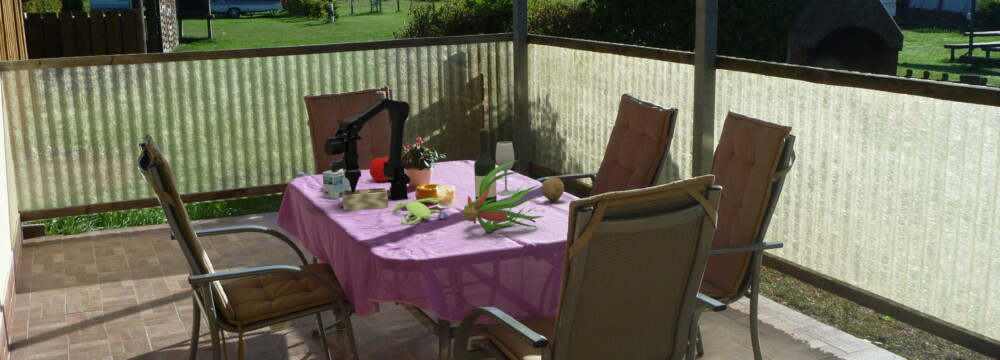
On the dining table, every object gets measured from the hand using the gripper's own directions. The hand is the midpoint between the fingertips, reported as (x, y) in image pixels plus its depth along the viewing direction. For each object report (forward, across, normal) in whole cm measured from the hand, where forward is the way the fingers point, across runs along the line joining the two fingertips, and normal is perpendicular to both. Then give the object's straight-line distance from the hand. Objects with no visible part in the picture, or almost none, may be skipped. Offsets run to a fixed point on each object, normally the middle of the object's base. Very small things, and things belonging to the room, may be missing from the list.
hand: (353, 191), depth 417 cm
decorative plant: (+7, +55, +47) cm, 73 cm away
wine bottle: (+7, +15, +50) cm, 53 cm away
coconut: (+7, +17, +76) cm, 78 cm away
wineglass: (+7, -6, +62) cm, 63 cm away
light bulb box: (+7, -25, -5) cm, 26 cm away
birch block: (+6, 0, +4) cm, 8 cm away
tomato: (+7, -52, +16) cm, 55 cm away
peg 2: (+6, 0, +9) cm, 11 cm away
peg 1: (+6, 0, 0) cm, 6 cm away
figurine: (+7, +24, +23) cm, 34 cm away
